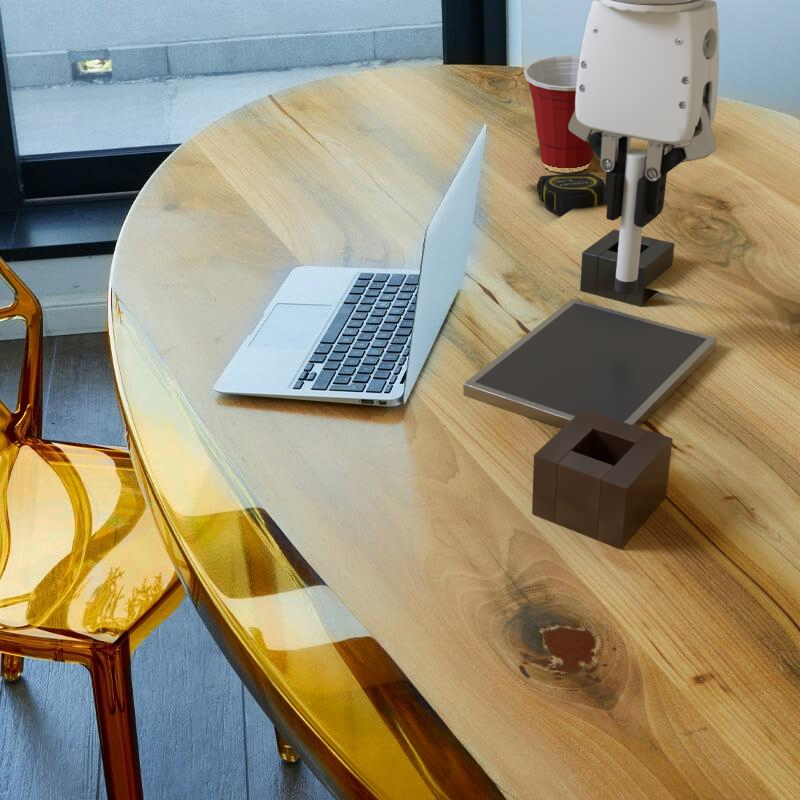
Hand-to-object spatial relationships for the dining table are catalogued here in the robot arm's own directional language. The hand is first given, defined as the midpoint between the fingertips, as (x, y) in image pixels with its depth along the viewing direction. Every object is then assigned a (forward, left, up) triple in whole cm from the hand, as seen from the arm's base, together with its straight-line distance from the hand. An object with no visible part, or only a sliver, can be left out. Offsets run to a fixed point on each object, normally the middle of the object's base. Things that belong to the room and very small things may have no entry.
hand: (632, 216), depth 88 cm
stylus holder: (+5, -10, -12) cm, 16 cm away
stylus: (0, 0, -7) cm, 7 cm away
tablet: (0, +6, -12) cm, 13 cm away
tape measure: (+19, -24, -12) cm, 33 cm away
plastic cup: (+26, -36, -12) cm, 46 cm away
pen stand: (-9, +22, -12) cm, 27 cm away
